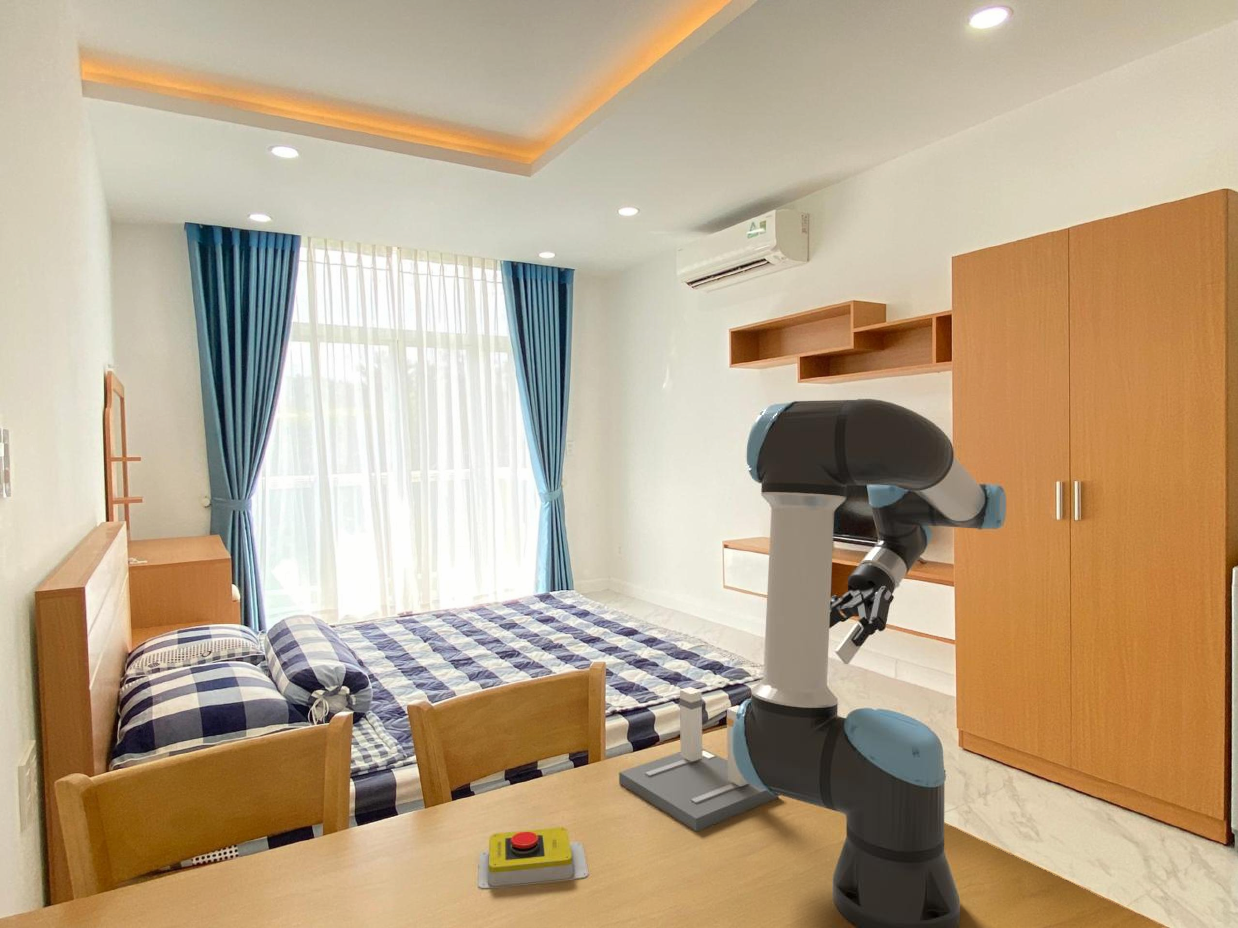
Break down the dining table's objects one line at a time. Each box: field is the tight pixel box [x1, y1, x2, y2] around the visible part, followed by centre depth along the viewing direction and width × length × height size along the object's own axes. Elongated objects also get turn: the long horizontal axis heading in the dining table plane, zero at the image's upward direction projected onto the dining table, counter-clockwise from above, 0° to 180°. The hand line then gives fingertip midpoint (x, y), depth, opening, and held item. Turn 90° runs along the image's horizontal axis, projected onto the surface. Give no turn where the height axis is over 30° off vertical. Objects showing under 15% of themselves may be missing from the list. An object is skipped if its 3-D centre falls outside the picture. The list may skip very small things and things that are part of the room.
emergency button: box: [477, 826, 589, 890], centre depth 106 cm, size 9×4×15 cm
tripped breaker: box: [726, 704, 748, 786], centre depth 125 cm, size 3×3×12 cm
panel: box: [618, 748, 779, 832], centre depth 127 cm, size 18×20×2 cm
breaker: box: [679, 686, 703, 762], centre depth 134 cm, size 3×3×12 cm
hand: (813, 659), depth 126 cm, fingers open, 13 cm apart
